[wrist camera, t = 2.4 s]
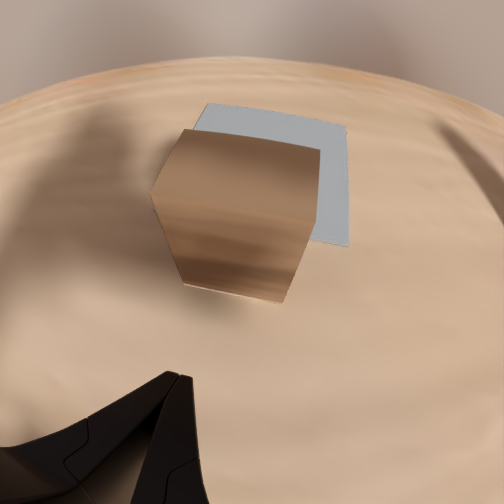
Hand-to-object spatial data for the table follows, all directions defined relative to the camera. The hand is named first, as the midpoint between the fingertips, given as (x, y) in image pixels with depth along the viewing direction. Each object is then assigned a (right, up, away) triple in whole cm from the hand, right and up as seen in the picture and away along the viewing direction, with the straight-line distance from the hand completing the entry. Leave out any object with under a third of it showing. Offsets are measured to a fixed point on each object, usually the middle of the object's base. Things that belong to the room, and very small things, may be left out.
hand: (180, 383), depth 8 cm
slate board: (+3, +13, +19) cm, 23 cm away
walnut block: (+1, +3, +13) cm, 14 cm away
